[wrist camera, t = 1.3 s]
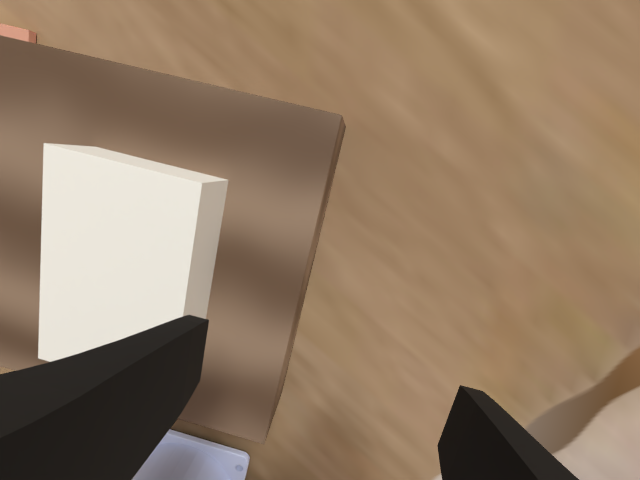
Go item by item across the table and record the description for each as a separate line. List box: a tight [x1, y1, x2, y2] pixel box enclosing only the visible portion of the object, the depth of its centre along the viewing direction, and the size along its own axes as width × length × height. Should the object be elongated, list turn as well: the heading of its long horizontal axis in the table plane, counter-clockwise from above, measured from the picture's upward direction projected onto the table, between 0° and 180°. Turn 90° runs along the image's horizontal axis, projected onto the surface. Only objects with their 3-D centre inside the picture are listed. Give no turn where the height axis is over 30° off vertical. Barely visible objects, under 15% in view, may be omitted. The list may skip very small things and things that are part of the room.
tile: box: [38, 143, 228, 362], centre depth 14 cm, size 9×6×2 cm, turn 167°
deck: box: [0, 35, 346, 444], centre depth 17 cm, size 16×16×4 cm
